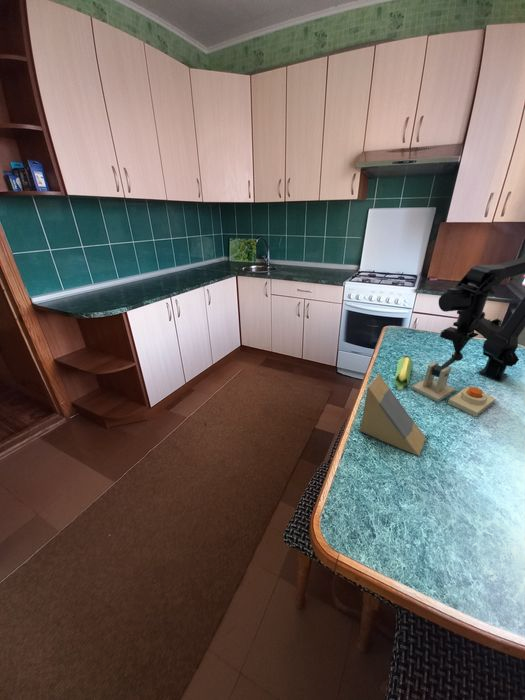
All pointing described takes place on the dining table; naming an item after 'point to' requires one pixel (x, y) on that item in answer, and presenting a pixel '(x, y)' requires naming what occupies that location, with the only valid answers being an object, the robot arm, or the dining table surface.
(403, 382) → the edible corn
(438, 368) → the black lever handle
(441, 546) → the dining table surface
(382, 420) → the sandwich container
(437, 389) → the lever stand
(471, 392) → the button
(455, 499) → the dining table surface
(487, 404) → the control block
